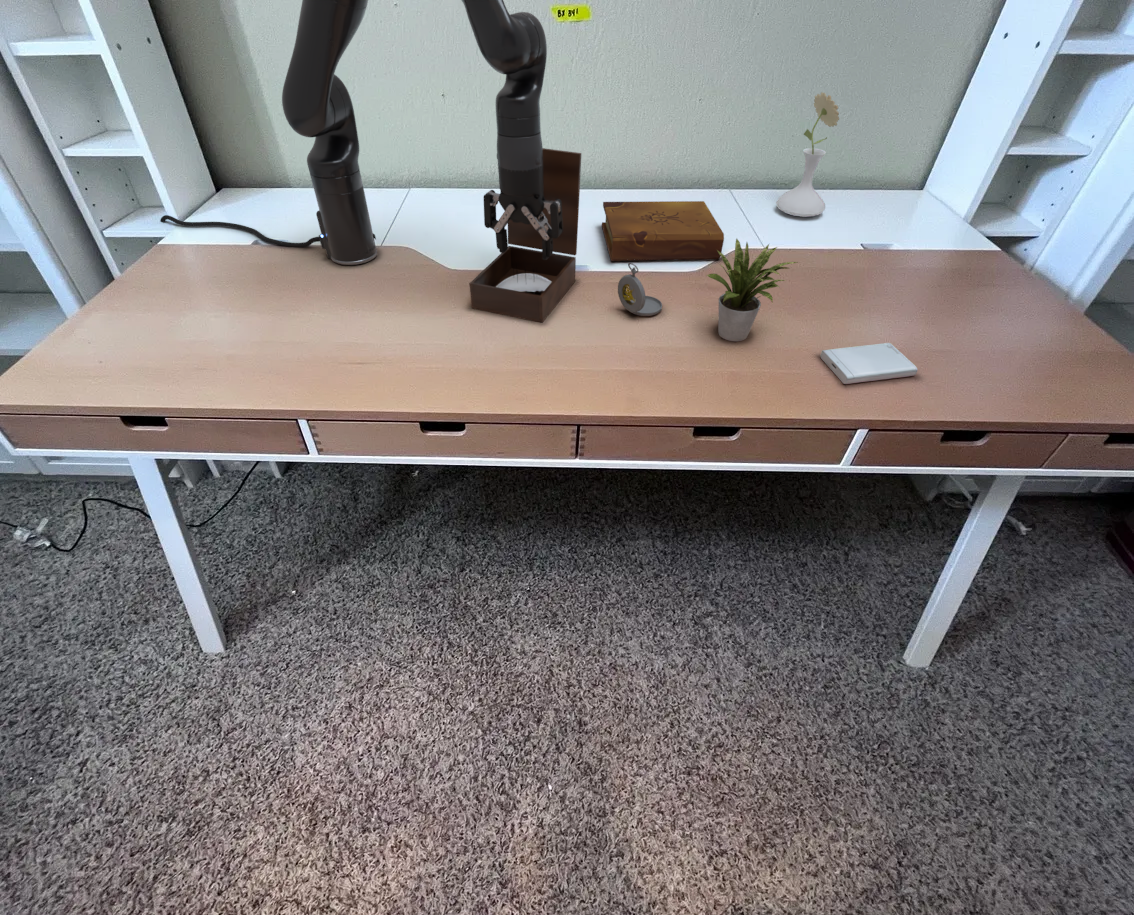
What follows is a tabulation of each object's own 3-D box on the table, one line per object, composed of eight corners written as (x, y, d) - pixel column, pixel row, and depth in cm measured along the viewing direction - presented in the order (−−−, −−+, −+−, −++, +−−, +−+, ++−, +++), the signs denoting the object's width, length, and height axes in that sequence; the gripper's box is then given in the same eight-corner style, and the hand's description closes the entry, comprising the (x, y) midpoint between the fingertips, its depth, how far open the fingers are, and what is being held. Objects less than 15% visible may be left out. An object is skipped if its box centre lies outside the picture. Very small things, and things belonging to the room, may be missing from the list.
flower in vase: (829, 221, 147) (864, 102, 130) (780, 221, 147) (809, 102, 130) (813, 201, 157) (844, 88, 140) (768, 200, 157) (793, 87, 140)
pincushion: (493, 300, 117) (491, 272, 113) (493, 285, 121) (491, 257, 117) (557, 297, 118) (557, 269, 114) (555, 282, 122) (554, 255, 118)
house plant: (757, 369, 102) (782, 276, 91) (680, 344, 107) (694, 253, 96) (784, 330, 111) (810, 241, 100) (711, 309, 116) (728, 222, 105)
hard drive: (889, 341, 106) (822, 348, 104) (918, 368, 100) (848, 376, 98) (885, 349, 107) (819, 357, 105) (914, 377, 101) (844, 385, 99)
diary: (611, 263, 130) (612, 236, 126) (601, 227, 144) (603, 201, 140) (720, 261, 131) (724, 234, 127) (700, 225, 145) (704, 200, 141)
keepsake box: (542, 322, 112) (542, 297, 109) (471, 308, 116) (469, 283, 112) (575, 281, 124) (575, 257, 121) (510, 269, 128) (508, 245, 124)
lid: (580, 153, 109) (581, 153, 110) (506, 144, 112) (507, 143, 113) (575, 255, 120) (576, 254, 121) (507, 244, 124) (509, 242, 124)
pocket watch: (665, 303, 118) (671, 252, 111) (655, 325, 112) (661, 273, 105) (623, 296, 120) (627, 246, 113) (611, 317, 114) (614, 265, 107)
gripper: (568, 158, 104) (568, 252, 115) (491, 149, 108) (498, 240, 119) (551, 173, 99) (553, 269, 110) (471, 162, 103) (480, 256, 114)
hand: (524, 254), depth 114 cm, fingers open, 8 cm apart
